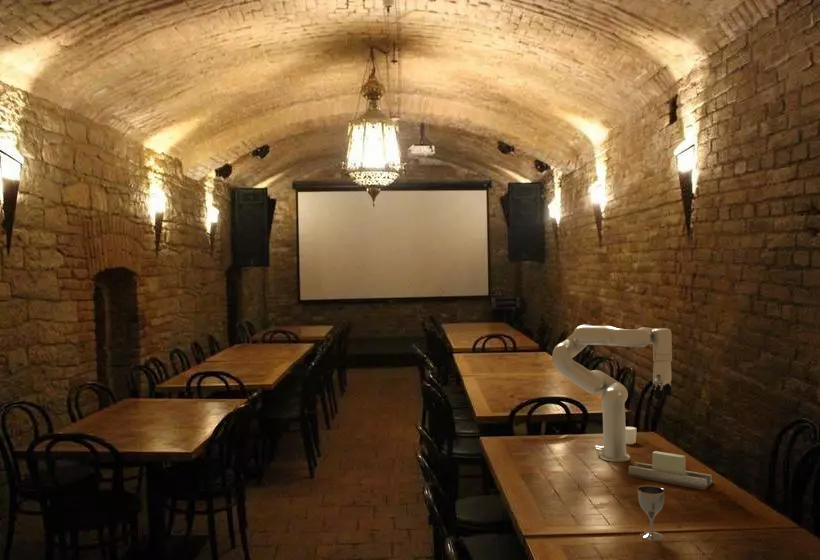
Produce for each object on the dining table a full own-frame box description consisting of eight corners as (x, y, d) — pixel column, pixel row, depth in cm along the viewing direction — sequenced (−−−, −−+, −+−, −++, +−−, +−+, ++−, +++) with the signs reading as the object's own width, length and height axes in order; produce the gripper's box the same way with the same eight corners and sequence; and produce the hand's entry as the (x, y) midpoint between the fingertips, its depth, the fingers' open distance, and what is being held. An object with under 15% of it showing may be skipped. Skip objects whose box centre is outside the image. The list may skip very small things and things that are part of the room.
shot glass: (635, 440, 329) (634, 426, 328) (638, 444, 322) (638, 429, 322) (620, 440, 329) (620, 426, 329) (623, 444, 322) (623, 429, 322)
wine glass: (634, 532, 221) (633, 486, 220) (658, 530, 221) (657, 484, 221) (645, 542, 213) (644, 494, 212) (669, 540, 213) (668, 492, 213)
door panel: (652, 474, 274) (652, 452, 273) (655, 473, 276) (655, 451, 276) (683, 480, 266) (682, 457, 266) (685, 478, 268) (685, 455, 268)
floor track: (627, 475, 277) (627, 467, 277) (637, 469, 284) (637, 461, 284) (704, 490, 257) (704, 480, 257) (712, 483, 265) (712, 474, 265)
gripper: (661, 354, 300) (661, 393, 300) (646, 359, 286) (646, 399, 287) (678, 355, 295) (679, 394, 295) (664, 360, 282) (664, 401, 282)
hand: (663, 397), depth 291 cm, fingers open, 9 cm apart
